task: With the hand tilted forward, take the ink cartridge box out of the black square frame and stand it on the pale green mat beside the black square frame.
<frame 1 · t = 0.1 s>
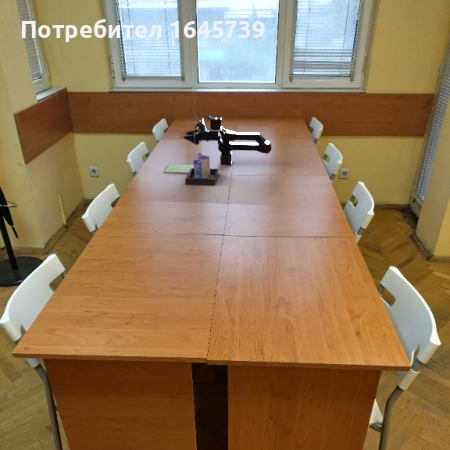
hand: (184, 135, 272), 17 cm above the table, tool horizontal, fingers open, 9 cm apart
ink cartridge box: (202, 179, 255), resting in black square frame
black square frame: (202, 179, 255), on the table
mat: (183, 169, 270), on the table
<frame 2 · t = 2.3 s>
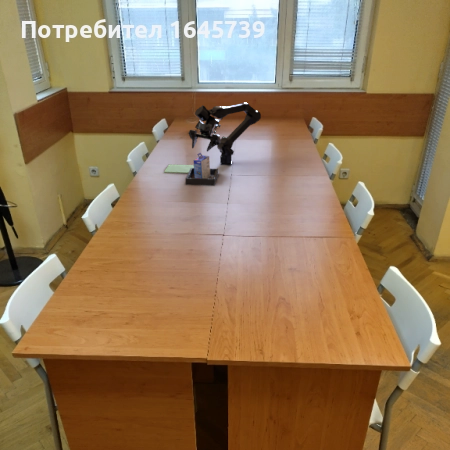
hand: (199, 149, 257), 14 cm above the table, tool tilted 50°, fingers open, 9 cm apart
nothing on the table moved.
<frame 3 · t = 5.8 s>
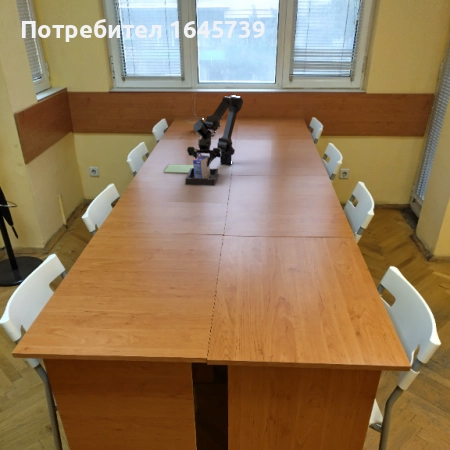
hand: (202, 165, 251), 8 cm above the table, tool tilted 45°, fingers closed on ink cartridge box, 6 cm apart
ink cartridge box: (202, 179, 255), resting in black square frame, touching gripper
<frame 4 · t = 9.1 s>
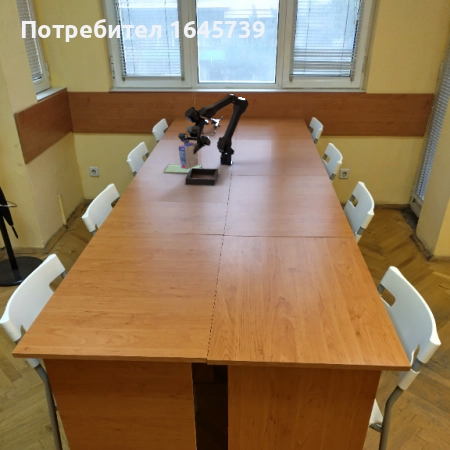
hand: (189, 152, 253), 13 cm above the table, tool tilted 45°, fingers closed on ink cartridge box, 6 cm apart
ink cartridge box: (189, 167, 257), point 5 cm above the table, touching gripper
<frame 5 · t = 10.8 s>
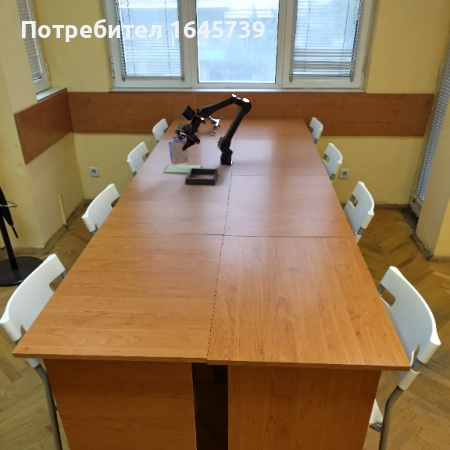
hand: (179, 149, 261), 13 cm above the table, tool tilted 45°, fingers closed on ink cartridge box, 6 cm apart
ink cartridge box: (179, 162, 265), point 5 cm above the table, touching gripper
when the fingers open (8 cm above the table, at t = 12.4 s): ink cartridge box stays where it is, resting on mat.
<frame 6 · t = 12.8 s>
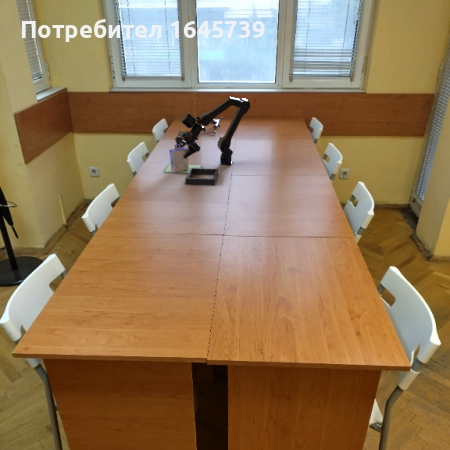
hand: (179, 156, 263), 9 cm above the table, tool tilted 45°, fingers open, 9 cm apart
ink cartridge box: (179, 170, 267), resting on mat
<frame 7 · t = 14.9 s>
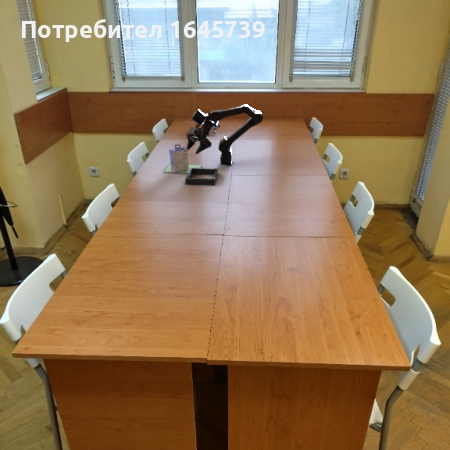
hand: (191, 152, 267), 9 cm above the table, tool tilted 45°, fingers open, 9 cm apart
nothing on the table moved.
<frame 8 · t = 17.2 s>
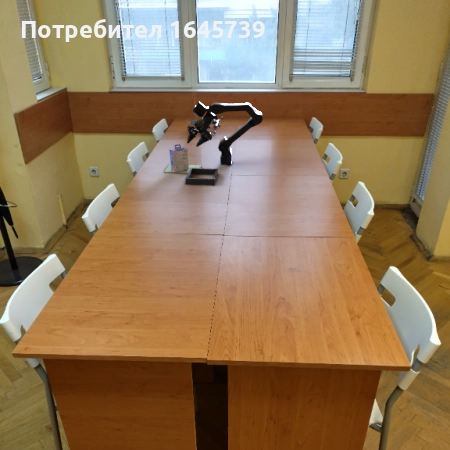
hand: (191, 144, 265), 14 cm above the table, tool tilted 45°, fingers open, 9 cm apart
nothing on the table moved.
at the end: ink cartridge box inside the target area on the mat (2.6 cm from its centre), point 0.4 cm above the mat's base; ink cartridge box touching mat; ink cartridge box tilted 0° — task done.
